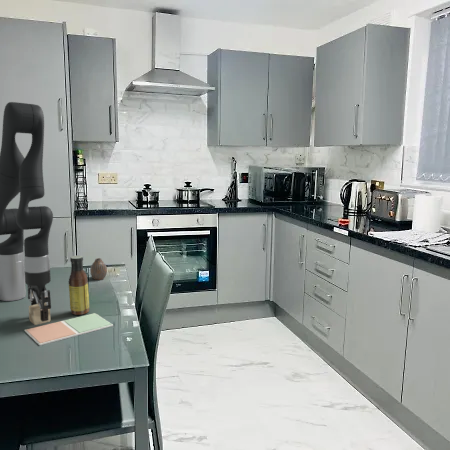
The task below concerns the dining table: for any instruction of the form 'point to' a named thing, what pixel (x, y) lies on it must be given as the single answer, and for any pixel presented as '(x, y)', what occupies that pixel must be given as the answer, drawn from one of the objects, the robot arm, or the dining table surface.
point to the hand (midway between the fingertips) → (39, 316)
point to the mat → (67, 328)
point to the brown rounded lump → (98, 269)
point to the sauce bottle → (78, 287)
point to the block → (37, 314)
